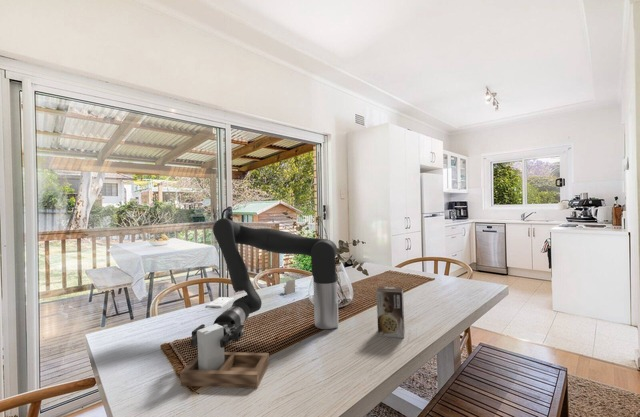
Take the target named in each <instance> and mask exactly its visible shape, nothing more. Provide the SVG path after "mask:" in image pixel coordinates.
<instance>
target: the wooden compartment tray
mask: <svg viewBox="0 0 640 417" xmlns="http://www.w3.org/2000/svg"><path fill="white" fill-rule="evenodd" d="M224 356H225V363H224V364H223V366H222V367H221V368H220V369H219V370H218V371H217V370H199V366H198V354H197V355H196V356H195V357H194V359H192V360H191V361H190V362H189V363H188V364H187V365H186V366H185V367H184V368H183V369H182V370H181V371H180V372H179V380H180V382H179V383H180V387H204V388H205V387H206V388H207V387H209V388H237V389H239V388H240V389H241V388H242V389H258V388H259V386H260V384H261V381H262V380H263V378H264V376H265V374H266V373H267V370H268V368H269V366H270V353H269V352H241V351H240V352H237V351H235V352H234V351H233V352H232V351H224Z"/></svg>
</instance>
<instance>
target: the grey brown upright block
mask: <svg viewBox="0 0 640 417" xmlns="http://www.w3.org/2000/svg"><path fill="white" fill-rule="evenodd" d="M375 294H376V313H377V314H376V315H377V316H376V317H377V336H378V337H379V336H380V337H390V338H398V339H399V338H400V339H404V338H405V333H406V330H405V306H404V287H401V286H400V287H399V286H398V287H397V286H381V285H379V286H378V287H377V289H376V292H375Z"/></svg>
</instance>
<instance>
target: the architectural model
mask: <svg viewBox="0 0 640 417" xmlns="http://www.w3.org/2000/svg"><path fill="white" fill-rule="evenodd" d="M296 287H297V285H296V279H288V280H286V281H285V284H284V286H282V288H283V289H284V295H290V294H293V293H294V294H295V293H296Z"/></svg>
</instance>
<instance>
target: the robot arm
mask: <svg viewBox="0 0 640 417" xmlns="http://www.w3.org/2000/svg"><path fill="white" fill-rule="evenodd" d="M212 232H213V235H214V238H215V240H216V242H217V244H218V246H219V248H220V252H221V253H222V256H223V258H224V261H225V264H226V265H225V266H226V268H227V270H228V271H227V272H228V275H229V278H230V281H231V282H230V283H231V285H232V288H233V291H234V292H245V293H246V295H243V296H241V297H239V298H236V299H234V300H233V302H232V305H231V306H230V307H229V308H227V309H225V310H224V311H223V312H222V313H221V314H220V315H218V316H217V317H216V319H215V320H214V321H213V323H212V325H214V324H218V325H220V326H223V332H224V337H223V338H222V339H221V340H220V347H221V348H223V347H224V348H225V347H226V346H227V345H228V344H229V343H232V342H233V341H234V342H238V341H239V340H241V338H242V336H243V335H244V333H245V332H244V330H245V329H244V323H245V321H247V319H248V318H249V316H250V315H252V313H255V312H258V311H259V310H260V309H261V308H262V305H263V304H262V299H261V296H260V295H259V293H258V292H257V291H256V289H255V287H254V285H253V283H252V281H251V279H250V275H249V271H248V268H247V266H246V263H245V260H243V257H242V256H241V253H240V252H239V250H238V247H237V244H238V245H246V246H251V247H254V248H256V249H259V250H262V251H265V252H271V253H274V254H280V255H281V254H282V255H303V256H308V257H310V258H311V259H310V260H311V261H310V262H311V264H310V265H311V274H312V281H313V283H312V284H313V309H314V310H313V311H314V312H313V313H314V314H313V315H314V327H315V328H317V329H320V330H330V329H331V330H332V329H335V328H336V329H337V328H339V298H338V274H337V271H336V257H337V254H338V247H337V245H336V244H335V242H334V241H332V240H331V239H327V238H318V237H317V238H315V237H308V236H303V235H299V234H295V233H292V232H288V231H284V230H279V229H273V228H267V227H264V228H263V227H262V228H260V227H259V228H252V227H248V226H244V225H241V224H239V223H237V222H235V221H233V220H232V219H230V218H227V217H226V218H225V217H223V218H219V219H217V220H216V221H215V222H214V224H213V228H212ZM205 327H206V325H205V324H200V325H199V326H197V327H196V328H195V329H193V330H192V331H191V338H190V346H191V348H195V347H196V346H198V342H197V330H200V329H203V328H205Z"/></svg>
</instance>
